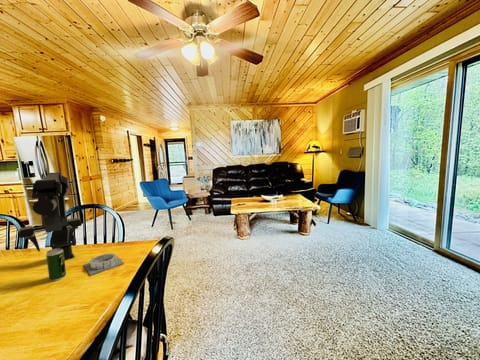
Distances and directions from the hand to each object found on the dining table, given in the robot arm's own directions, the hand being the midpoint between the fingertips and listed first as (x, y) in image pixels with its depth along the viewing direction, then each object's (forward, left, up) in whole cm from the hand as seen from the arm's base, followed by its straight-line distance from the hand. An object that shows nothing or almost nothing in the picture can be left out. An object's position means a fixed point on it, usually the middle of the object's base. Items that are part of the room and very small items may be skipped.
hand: (54, 247), depth 86 cm
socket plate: (+2, +16, -13) cm, 21 cm away
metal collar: (+2, +16, -13) cm, 21 cm away
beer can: (0, 0, -14) cm, 14 cm away
